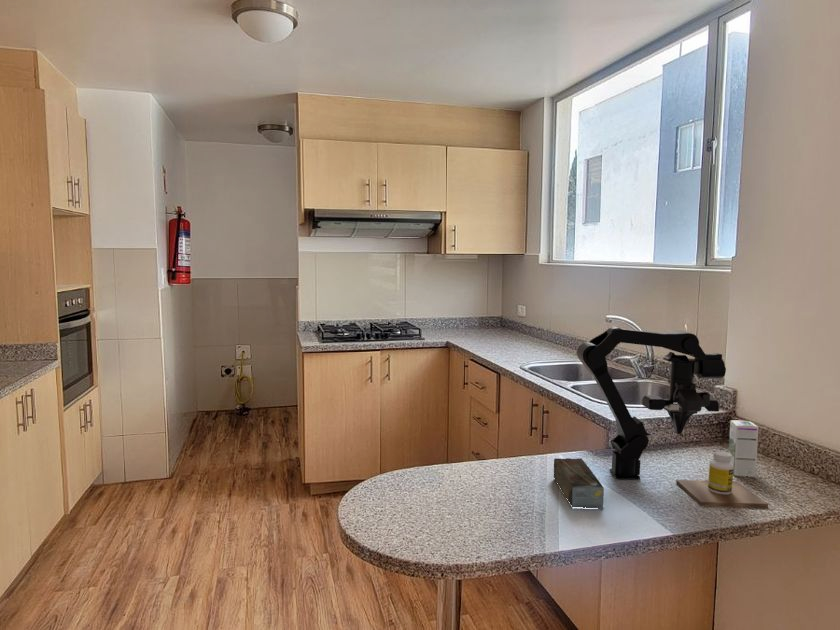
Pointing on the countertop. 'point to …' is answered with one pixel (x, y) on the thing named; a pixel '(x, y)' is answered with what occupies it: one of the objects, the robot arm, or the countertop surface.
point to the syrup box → (743, 447)
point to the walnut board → (707, 498)
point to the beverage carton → (578, 483)
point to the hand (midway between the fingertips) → (678, 434)
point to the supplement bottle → (721, 473)
